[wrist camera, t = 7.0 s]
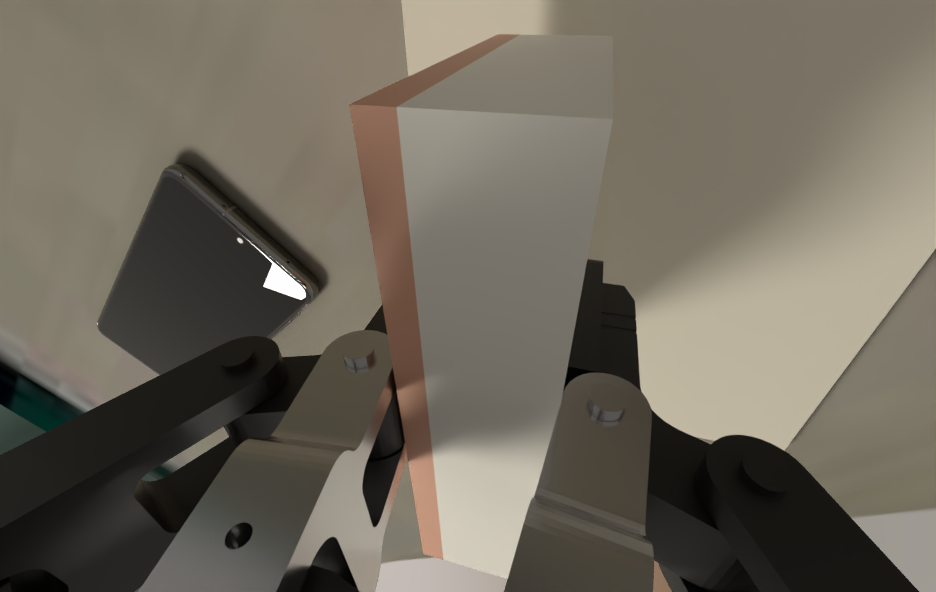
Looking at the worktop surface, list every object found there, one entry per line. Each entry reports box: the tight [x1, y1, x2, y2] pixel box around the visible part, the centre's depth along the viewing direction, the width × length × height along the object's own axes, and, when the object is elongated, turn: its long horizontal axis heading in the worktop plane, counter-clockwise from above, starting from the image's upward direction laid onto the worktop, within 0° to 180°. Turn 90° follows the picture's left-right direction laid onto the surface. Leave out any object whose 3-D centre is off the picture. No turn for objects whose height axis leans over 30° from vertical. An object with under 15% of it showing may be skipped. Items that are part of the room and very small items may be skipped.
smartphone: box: [97, 164, 319, 375], centre depth 22 cm, size 7×1×16 cm
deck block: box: [349, 34, 613, 579], centre depth 10 cm, size 10×2×7 cm, turn 1°
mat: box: [402, 0, 936, 450], centre depth 13 cm, size 17×14×1 cm
